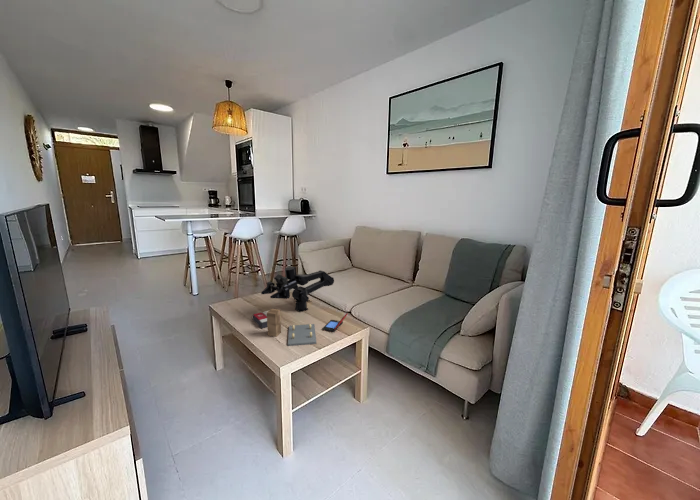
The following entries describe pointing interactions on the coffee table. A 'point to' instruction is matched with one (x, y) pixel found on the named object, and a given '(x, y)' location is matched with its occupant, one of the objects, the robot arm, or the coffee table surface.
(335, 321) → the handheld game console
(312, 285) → the robot arm
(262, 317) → the grey and red box
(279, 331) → the walnut block
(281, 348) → the coffee table surface
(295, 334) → the plate
